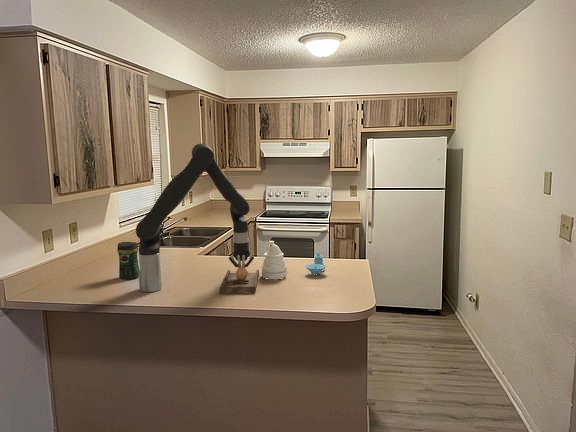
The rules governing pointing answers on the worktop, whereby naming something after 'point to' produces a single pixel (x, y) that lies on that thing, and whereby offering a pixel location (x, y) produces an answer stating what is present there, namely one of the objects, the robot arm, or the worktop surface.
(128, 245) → the coffee jar
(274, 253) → the honey pot
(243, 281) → the track
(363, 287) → the worktop surface
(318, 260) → the light blue flared piece
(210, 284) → the worktop surface
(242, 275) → the ball
